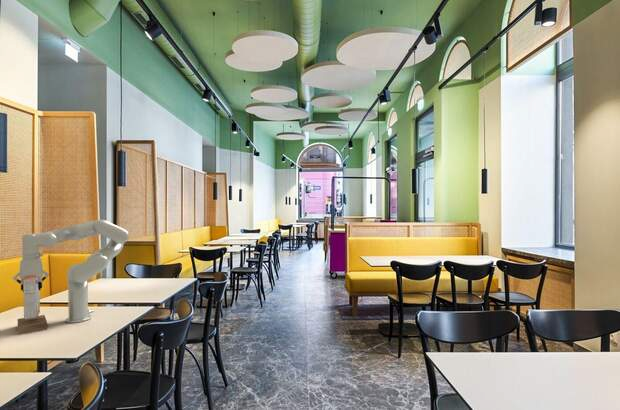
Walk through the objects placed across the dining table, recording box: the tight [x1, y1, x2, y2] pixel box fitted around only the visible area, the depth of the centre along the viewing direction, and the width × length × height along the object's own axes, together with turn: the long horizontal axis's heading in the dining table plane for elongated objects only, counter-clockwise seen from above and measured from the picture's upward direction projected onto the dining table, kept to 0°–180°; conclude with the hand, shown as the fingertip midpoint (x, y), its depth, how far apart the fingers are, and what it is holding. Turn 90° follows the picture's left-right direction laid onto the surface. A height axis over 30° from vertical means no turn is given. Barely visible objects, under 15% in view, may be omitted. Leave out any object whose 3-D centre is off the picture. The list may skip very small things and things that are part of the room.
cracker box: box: [22, 277, 41, 320], centre depth 206 cm, size 14×6×21 cm, turn 29°
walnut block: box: [17, 314, 48, 335], centre depth 206 cm, size 18×12×4 cm, turn 38°
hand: (31, 290), depth 206 cm, fingers closed on cracker box, 6 cm apart
